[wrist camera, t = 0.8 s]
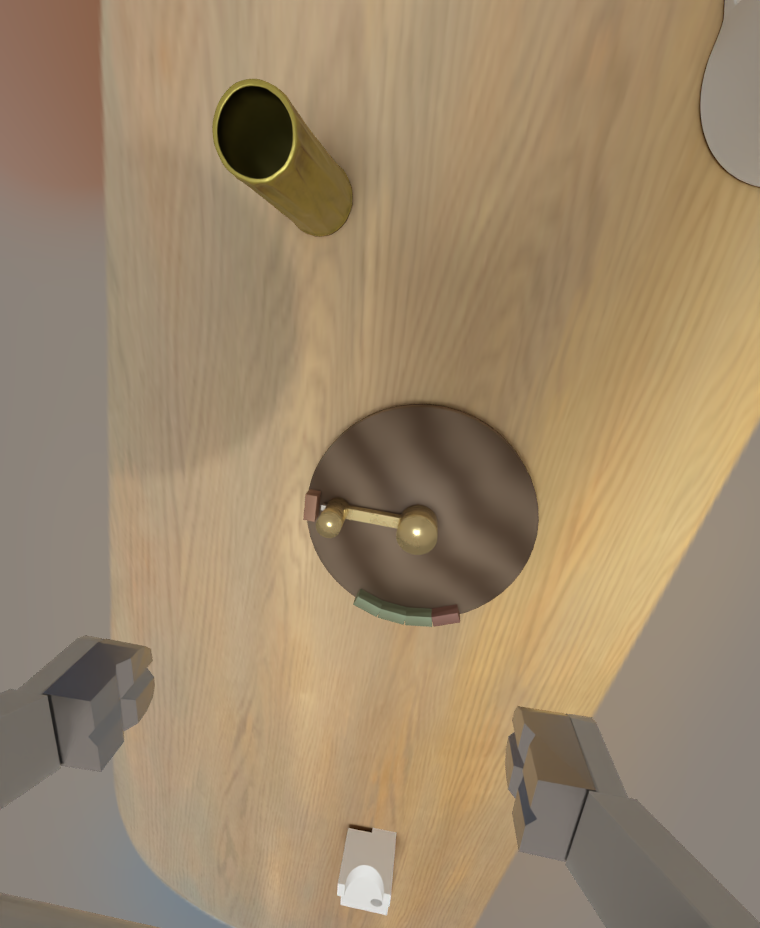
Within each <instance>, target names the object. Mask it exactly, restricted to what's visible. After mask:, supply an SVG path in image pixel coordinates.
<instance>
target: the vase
mask: <svg viewBox="0 0 760 928" xmlns="http://www.w3.org/2000/svg"><path fill="white" fill-rule="evenodd" d="M212 128H213V140H214V145H215V148H216V150H217V153H218V155H219V157H220V159H221V161H222V163H223V165H224V166H225V168H226V169H227V170H228V171H229V172H230V173H232V174H233V175H234V176H235V177H236V178H237V179H238V180H240V181H242V182H243V183H245V184H246V185H247V186H249V187H250V188H251V189H253V190H254V191H255V192H256V193H258V194H259V195H260V196H262V197H263V198H264V199H265V200H267V201H268V202H269V203H270V204H272V205H273V206H274V207H275V208H276V209H278V210H279V211H280V212H281V213H282V214H284V215H285V216H286V217H288V218H289V219H290V220H291V221H293V222H294V223H295V225H296V226H297V227H298V228H299V229H300V230H302V231H303V232H305V233H307V234H310V235H313V236H326V235H330V234H332V233H334V232H335V231H337V230H338V229H339V228H340V227H341V226H342V225H343V224H344V223H345V221H346V219H347V217H348V215H349V213H350V210H351V206H352V188H351V185H350V182H349V179H348V177H347V175H346V173H345V172H344V170H343V169H342V168H341V167H340V166H339V165H337V163H336V162H335V161H334V160H333V159H332V157H331V156H330V155H329V154H328V153H327V151H326V150H325V149H324V147H323V146H322V145H321V143H320V142H319V141H318V140H317V138H316V137H315V136H314V135H313V133H312V132H311V131H310V129H309V128H308V127H307V125H306V124H305V122H304V121H303V119H302V118H301V116H300V115H299V114H298V112H297V111H296V109H295V108H294V106H293V105H292V104H291V102H290V100H289V99H288V97H287V96H286V95H285V94H284V93H283V92H282V91H281V90H280V89H278V88H277V87H276V86H274V85H272V84H270V83H268V82H266V81H263V80H260V79H246V80H242V81H239V82H237V83H235V84H233V85H232V86H231V87H230V88H229V89H228V90H227V91H226V92H225V93H224V95H223V96H222V98H221V99H220V101H219V103H218V105H217V108H216V111H215V115H214V119H213V126H212Z"/></svg>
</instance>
